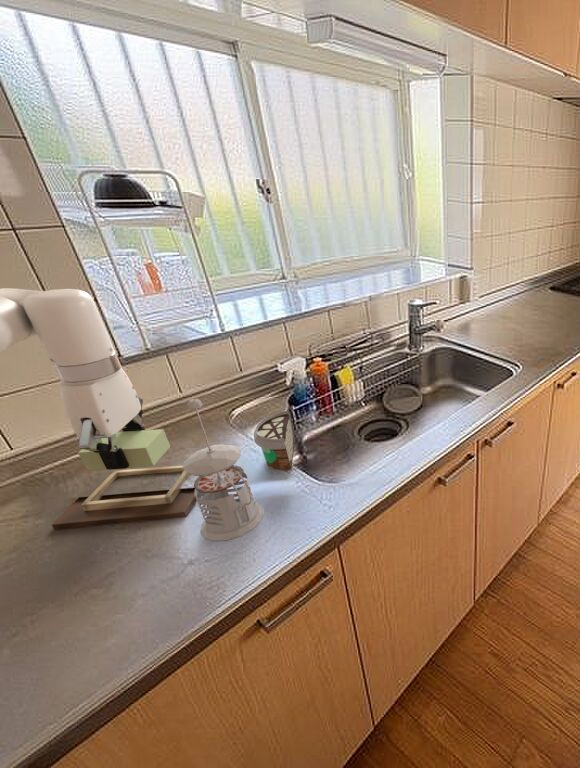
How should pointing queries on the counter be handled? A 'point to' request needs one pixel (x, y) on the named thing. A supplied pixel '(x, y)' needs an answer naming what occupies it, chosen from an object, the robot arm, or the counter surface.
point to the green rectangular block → (132, 449)
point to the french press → (222, 490)
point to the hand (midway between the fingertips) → (129, 455)
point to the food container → (276, 440)
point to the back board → (129, 503)
